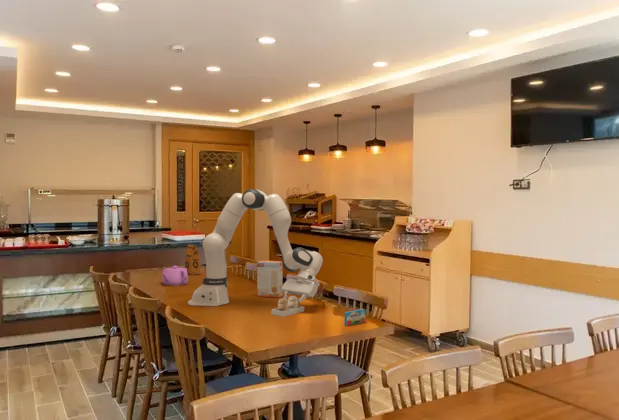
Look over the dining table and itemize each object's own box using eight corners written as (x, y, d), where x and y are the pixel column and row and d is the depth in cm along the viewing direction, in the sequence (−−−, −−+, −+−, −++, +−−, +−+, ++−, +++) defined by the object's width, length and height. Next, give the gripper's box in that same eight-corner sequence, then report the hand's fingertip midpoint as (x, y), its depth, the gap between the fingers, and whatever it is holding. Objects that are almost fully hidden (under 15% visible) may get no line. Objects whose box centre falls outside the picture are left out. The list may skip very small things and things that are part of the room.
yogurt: (346, 326, 234) (346, 312, 234) (344, 325, 235) (344, 312, 235) (365, 322, 241) (365, 309, 241) (363, 321, 242) (363, 308, 242)
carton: (283, 318, 248) (283, 311, 248) (271, 315, 253) (271, 309, 253) (304, 312, 260) (304, 306, 260) (292, 310, 266) (292, 304, 266)
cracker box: (282, 296, 301) (283, 261, 301) (279, 298, 296) (279, 262, 295) (261, 294, 306) (261, 260, 305) (257, 296, 300) (257, 261, 300)
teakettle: (188, 285, 335) (188, 267, 335) (161, 286, 331) (161, 267, 331) (188, 281, 352) (187, 263, 351) (162, 282, 348) (162, 264, 347)
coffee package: (189, 275, 377) (189, 246, 376) (183, 273, 387) (183, 244, 386) (202, 274, 382) (202, 245, 382) (196, 272, 393) (195, 243, 392)
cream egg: (288, 312, 257) (288, 296, 257) (287, 310, 262) (287, 294, 262) (298, 312, 258) (298, 296, 257) (297, 310, 263) (297, 294, 262)
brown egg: (278, 315, 251) (278, 299, 251) (277, 313, 256) (277, 297, 256) (288, 315, 252) (288, 299, 252) (287, 312, 257) (287, 297, 256)
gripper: (286, 273, 271) (274, 294, 264) (317, 277, 258) (304, 299, 251) (292, 280, 275) (280, 301, 268) (322, 285, 262) (310, 307, 255)
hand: (292, 300), depth 259 cm, fingers open, 8 cm apart
